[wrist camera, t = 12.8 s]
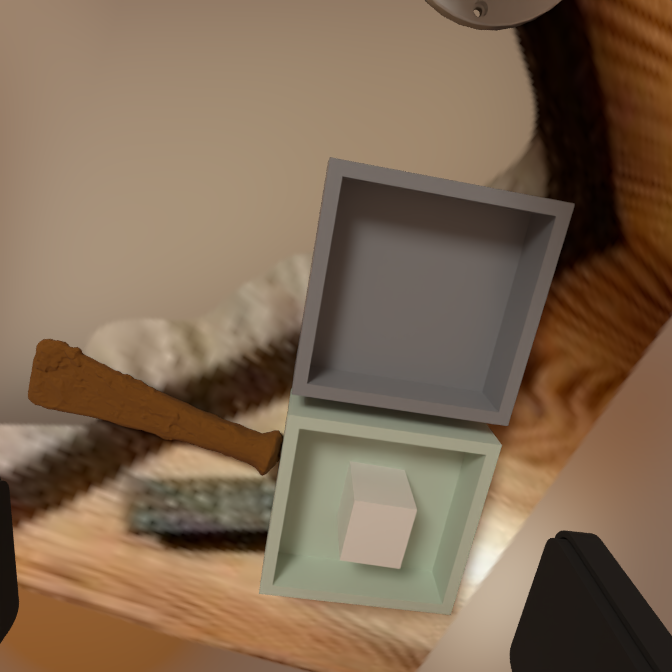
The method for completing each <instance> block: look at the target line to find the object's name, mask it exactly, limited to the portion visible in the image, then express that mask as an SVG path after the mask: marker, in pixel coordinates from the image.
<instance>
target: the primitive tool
mask: <svg viewBox="0 0 672 672" xmlns="http://www.w3.org/2000/svg"><path fill="white" fill-rule="evenodd" d="M28 399H29V400H30V401H31V402H32V403H34V404H35V405H39V406H42V407H44V408H47V409H53V410H58V411H62V412H68V413H74V414H79V415H84V416H89V417H93V418H98V419H102V420H106V421H110V422H113V423H115V424H118V425H121V426H125V427H129V428H133V429H137V430H144V431H145V432H150V433H153V434H156V435H157V436H159V437H161V438H163V439H166V440H168V439H169V440H173V439H175V440H179V441H182V442H187V443H190V444H193V445H197V446H199V447H202V448H205V449H208V450H212V451H216V452H220V453H222V454H224V455H226V456H230V457H233V458H235V459H237V460H240V461H243V462H246V463H248V464H250V465H252V466H253V467H255V468H256V469H257V470H258V472H259V473H260V474H261V475H265V474H266V473H267V472H268V471H269V470H270V469H271V468H272V467H273V466H274V465H275V464H276V462H278V461H279V459H280V451H281V447H282V444H281V443H283V438H282V436H281V434H280V431H272V432H267V433H263V434H262V433H260V432H257V431H254V430H251V429H249V428H246V427H244V426H242V425H240V424H237V423H233V422H230V421H227V420H225V419H222V418H220V417H219V416H217V415H215V414H211V413H208V412H205V411H202V410H200V409H197V408H195V407H193V406H191V405H190V404H188V403H185V402H183V401H180V400H178V399H176V398H174V397H171V396H169V395H167V394H165V393H162V392H160V391H158V390H156V389H154V388H153V387H149V386H147V385H146V384H145V383H143V382H142V381H141V380H137V379H134V378H133V377H132V376H130V375H128V374H122V373H121V372H119V371H115V370H113V369H111V368H110V367H108V366H106V365H105V364H101V363H99V362H97V361H96V360H94V359H92V358H90V357H87V356H86V355H85V354H83V353H82V350H81V349H80V348H78V347H74V348H73V347H70V346H69V344H67V343H66V342H63V341H59V340H57V341H56V340H53V339H43V340H42V341H40V342H39V343H38V345H37V348H36V355H35V357H34V360H33V367H32V372H31V377H30V384H29V390H28Z"/></svg>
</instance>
